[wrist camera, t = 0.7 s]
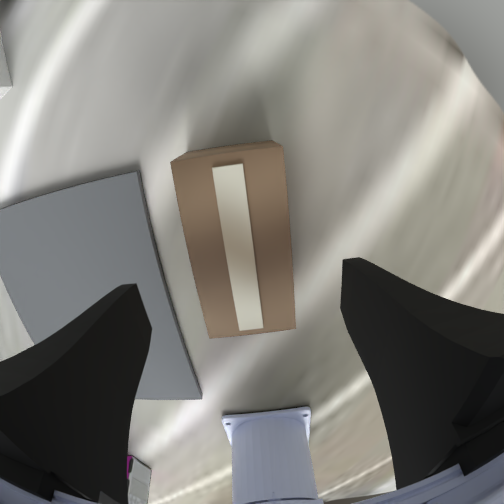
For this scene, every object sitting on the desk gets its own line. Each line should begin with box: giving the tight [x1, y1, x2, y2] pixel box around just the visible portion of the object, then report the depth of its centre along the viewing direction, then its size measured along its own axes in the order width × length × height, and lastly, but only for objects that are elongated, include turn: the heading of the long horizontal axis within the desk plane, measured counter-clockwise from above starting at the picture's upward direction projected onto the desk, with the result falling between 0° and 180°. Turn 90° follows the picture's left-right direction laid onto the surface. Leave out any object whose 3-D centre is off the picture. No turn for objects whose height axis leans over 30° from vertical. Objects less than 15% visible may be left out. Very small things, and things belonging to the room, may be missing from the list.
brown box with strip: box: [170, 141, 296, 338], centre depth 15 cm, size 9×4×4 cm, turn 7°
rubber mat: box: [0, 171, 202, 400], centre depth 18 cm, size 18×14×1 cm
